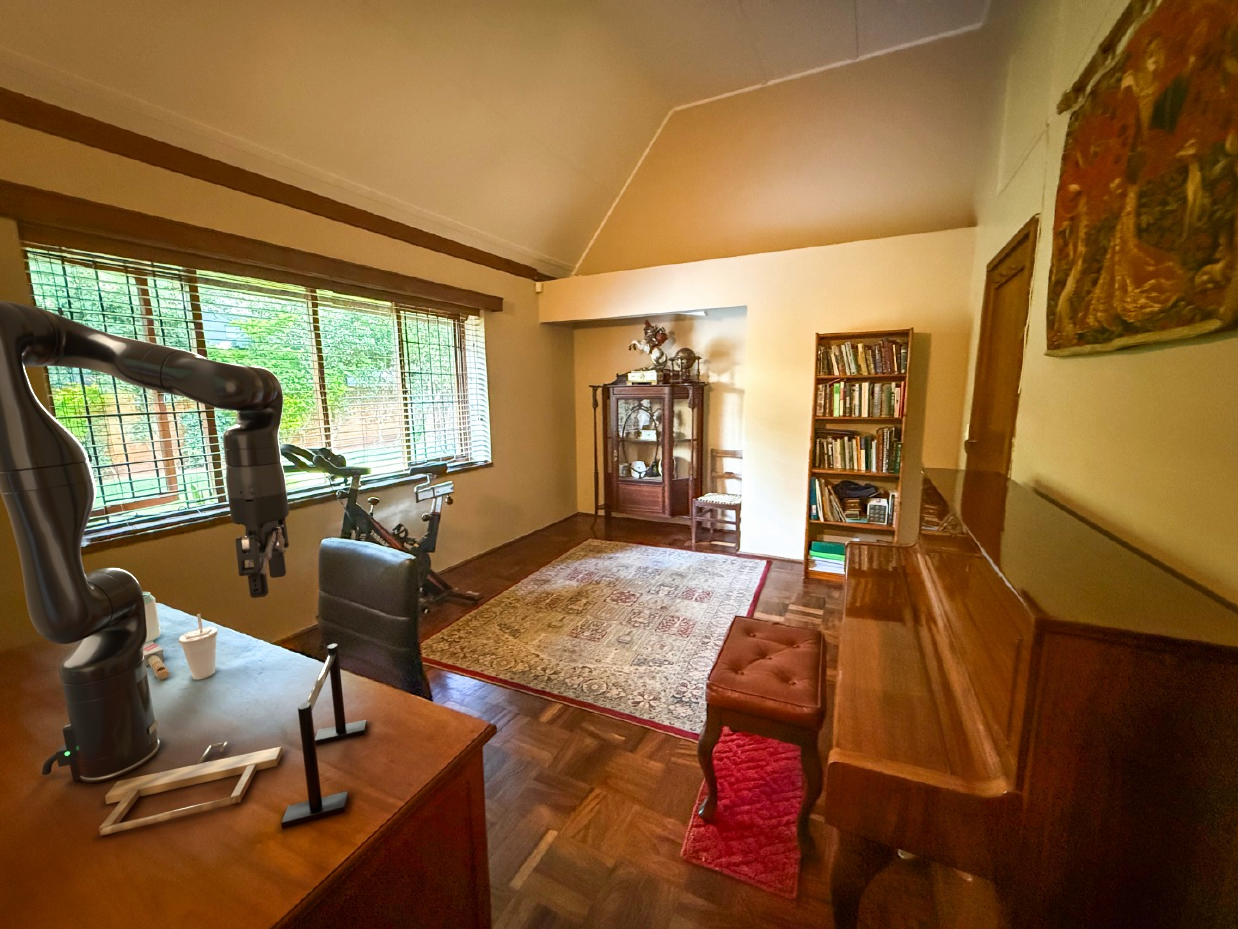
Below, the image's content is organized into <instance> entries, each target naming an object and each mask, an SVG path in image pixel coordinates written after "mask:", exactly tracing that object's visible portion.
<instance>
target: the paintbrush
mask: <svg viewBox="0 0 1238 929" xmlns="http://www.w3.org/2000/svg"><path fill="white" fill-rule="evenodd" d="M143 653H144V659H145V665H146V667H148V666H150V667H151V669H152V670H153V672H154V674H155V675H156V677H157V679H158V680H166V679H167V678H168V677H169V676H170V671H169V670H168V668H167V667H166V666H165V664H164V663H163V661H165V660H166V658H165V655H164V648H163V647H161V646H160V645H159V644H156V642H154V641H151V642H148V643H145V645H144V647H143Z"/></svg>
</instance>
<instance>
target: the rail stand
mask: <svg viewBox="0 0 1238 929" xmlns="http://www.w3.org/2000/svg"><path fill="white" fill-rule="evenodd" d="M326 650H327V656H326V658H325V662H324V663H323V666H322V668H321V669H320V672H319V674H318V677H317V678H316V681H315V683H314V685H313V686H312V688H311V691H310V693H309V694H308V695H309V696H308V697H307V700H306V702H303V703H301V704H299V705H298V706H297V713H298V723H299V730H300V740H301V748H302V757H303V763H304V774H305V781H306V782H305V783H306V790H307V798H308V800H306V801H302V802H298V803H294V804H290V805H287V807H286V809H285V812H284V814H283V816H282V820H281V822H280V825H281V829H282V830H283V829H287V828H290V827H293V826H299V825H302V824H306V823H310V822H313V821H317V820H320V819H324V818H329V817H333V816H337V815H340V814H345V813H346V809H347V806H348V801H349V798H350V794H349V790H346V791H342V792H337V793H334V794H330V795H326V796H322V790H321V788H322V787H321V779H320V771H319V763H318V754H317V746H318V745H324V744H328V743H333V742H337V741H342V740H347V739H351V738H356V737H360V736H361V737H362V736H365V734H366V731H367V727H368V719H363V720H362V719H361V720H359V721H353V722H348V723H346V714H345V713H346V712H345V704H344V703H345V702H344V695H343V685H342V684H343V683H342V674H341V663H340V653H339V644H338V643H331V644H329V645H327V649H326ZM328 676H329V679H330V687H331V697H332V707H333V715H334V716H333V717H334V725H333V726H329V727H323V728H320V729H319V728H318V730H317V731H316V734H315V725H314V718H313V709H314V707H315V705H316V702H317V700H318V698H319V695H320V693H321V691H322V690H323V686H324V684H325V682H326V680H327V679H328V678H327V677H328Z"/></svg>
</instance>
